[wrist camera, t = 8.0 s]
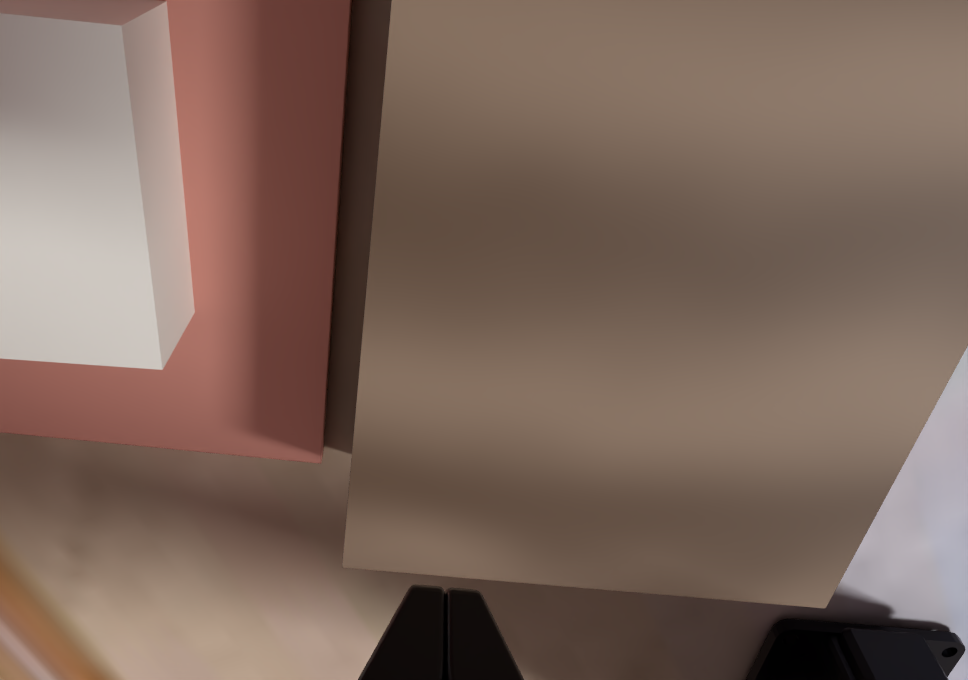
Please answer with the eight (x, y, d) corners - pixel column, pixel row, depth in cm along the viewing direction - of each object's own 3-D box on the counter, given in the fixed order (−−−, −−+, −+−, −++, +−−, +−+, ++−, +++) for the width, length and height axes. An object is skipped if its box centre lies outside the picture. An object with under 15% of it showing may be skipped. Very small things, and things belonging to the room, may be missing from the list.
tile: (-134, 349, 17) (-68, 292, 19) (162, 369, 17) (195, 312, 19) (-257, -13, 13) (-159, -34, 15) (121, 25, 14) (166, 1, 16)
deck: (772, 498, 24) (825, 608, 20) (359, 457, 22) (342, 567, 19) (1107, -255, 14) (1308, -286, 11) (439, -395, 13) (433, -478, 10)
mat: (322, 454, 22) (320, 463, 22) (-143, 408, 21) (-153, 417, 21) (377, -407, 13) (376, -414, 13) (-442, -579, 12) (-469, -591, 12)
